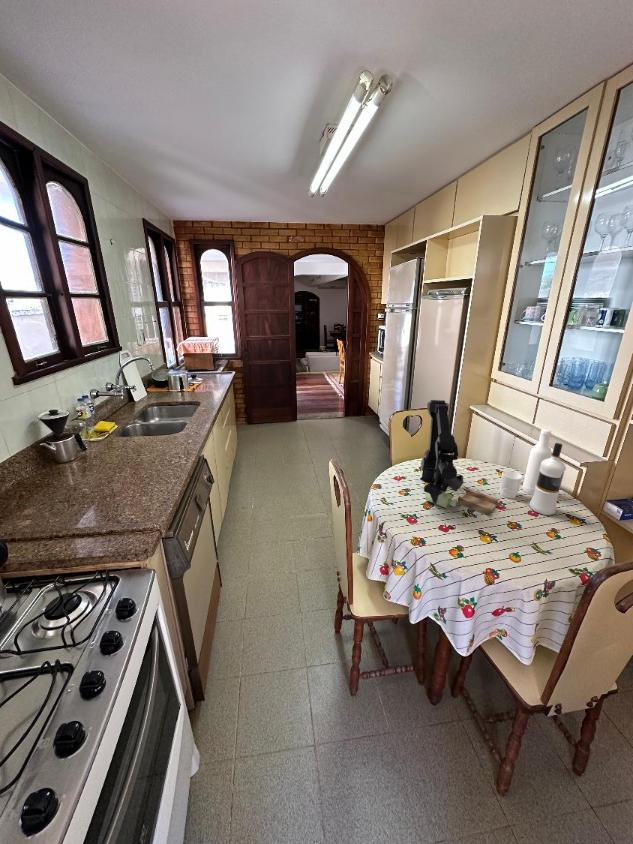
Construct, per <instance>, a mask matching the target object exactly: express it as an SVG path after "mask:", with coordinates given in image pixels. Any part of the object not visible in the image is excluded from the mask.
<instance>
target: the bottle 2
mask: <svg viewBox="0 0 633 844" xmlns="http://www.w3.org/2000/svg"><path fill="white" fill-rule="evenodd" d="M539 434H540V435H539V439H538V443H537V444H535V445H534V446H533V447H531V449H530V453H529V457H528V462H527V466H526V470H525V475H524V479H523V483H522V487H521V489H522V491H523V492H524V493H527V494H528V495H531V496H533V495H534V492H535V486H536V484H537V480H538V476H539V472H540V470H539V469H540V465H541V462H542V461H543V460H545V459H548V458H551V457H552V453H553V452H552V449H551V448H550V447H549V442H550V438H551V435H552V430H551V429H548V428H542V429H541V430H540V433H539Z"/></svg>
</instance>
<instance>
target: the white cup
mask: <svg viewBox="0 0 633 844" xmlns="http://www.w3.org/2000/svg"><path fill="white" fill-rule="evenodd" d="M522 480H523V476H522V474H520V473H518V472H516V471H512V470H504V471H502V473H501V478H500V486H499V488H500V489H499V494H500V495H501V496H502V497H504V498H506V499H507V498H508V499H516V498H517V496H518V492H519V490H520V487H521V484H522Z"/></svg>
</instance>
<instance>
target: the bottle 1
mask: <svg viewBox="0 0 633 844" xmlns="http://www.w3.org/2000/svg"><path fill="white" fill-rule="evenodd" d="M442 492H443V491H442ZM424 498H425V500H426V501H428V502H430V503H432V504H434V503H433V501H432V498H431V496H430V494H429V493H427V492H425V497H424ZM457 501H458V500H453V495H452V494H451V493H448V492H443V493H442V494H441V495H439V497H438V500H437V503H436V504H435V505H437V506H440V507H442V508H444V509H448V508H450V506H451V507H455V509H458V510H459V508H460V507H461V505H460V502H457Z"/></svg>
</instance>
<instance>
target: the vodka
mask: <svg viewBox="0 0 633 844" xmlns="http://www.w3.org/2000/svg"><path fill="white" fill-rule="evenodd" d="M562 448H563V444H562V443H560V442H555V443H554V445H553V449H552V452H551V453H552V455H551V458H548V459H545V460H543V461H542V462H541V465H540V469H539V470H540V472H539V476H538V480H537V484H536V486H535V492H534V495H532V498H531V500H530V502H529V508H530V509H531V510H533V511H534V512H535V513H537V514H540V515H543V516H551V515H554V514H555V513H556V510H557V501H558V496H559V494H560V490H561V485H562V482H563V478H564V476H565V471H566V469H567V467H566V465H565V463H564V462H562V461H561V460H560V457H561V452H562Z"/></svg>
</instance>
